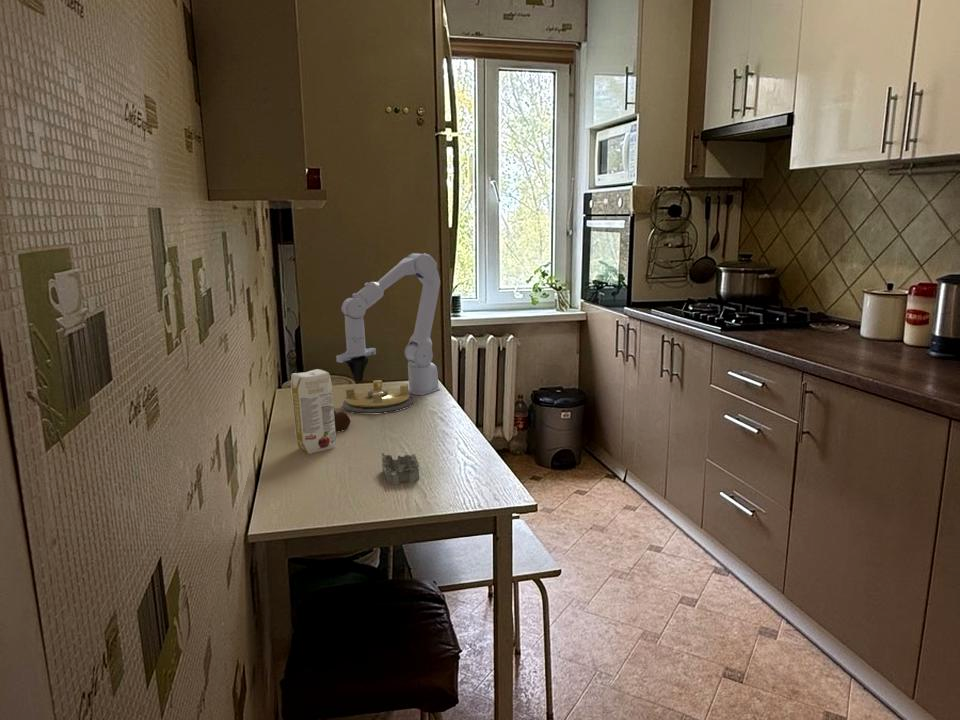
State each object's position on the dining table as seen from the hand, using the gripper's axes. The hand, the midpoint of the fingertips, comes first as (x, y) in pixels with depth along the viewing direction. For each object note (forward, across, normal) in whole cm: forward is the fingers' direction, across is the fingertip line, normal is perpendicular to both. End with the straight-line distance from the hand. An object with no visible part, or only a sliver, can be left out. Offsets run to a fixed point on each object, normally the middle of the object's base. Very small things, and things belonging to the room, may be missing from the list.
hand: (358, 381), depth 205 cm
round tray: (+5, 0, +8) cm, 9 cm away
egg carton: (+7, +39, +54) cm, 67 cm away
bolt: (+7, +21, +12) cm, 25 cm away
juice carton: (+7, +37, +24) cm, 45 cm away
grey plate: (+6, 0, +8) cm, 10 cm away
